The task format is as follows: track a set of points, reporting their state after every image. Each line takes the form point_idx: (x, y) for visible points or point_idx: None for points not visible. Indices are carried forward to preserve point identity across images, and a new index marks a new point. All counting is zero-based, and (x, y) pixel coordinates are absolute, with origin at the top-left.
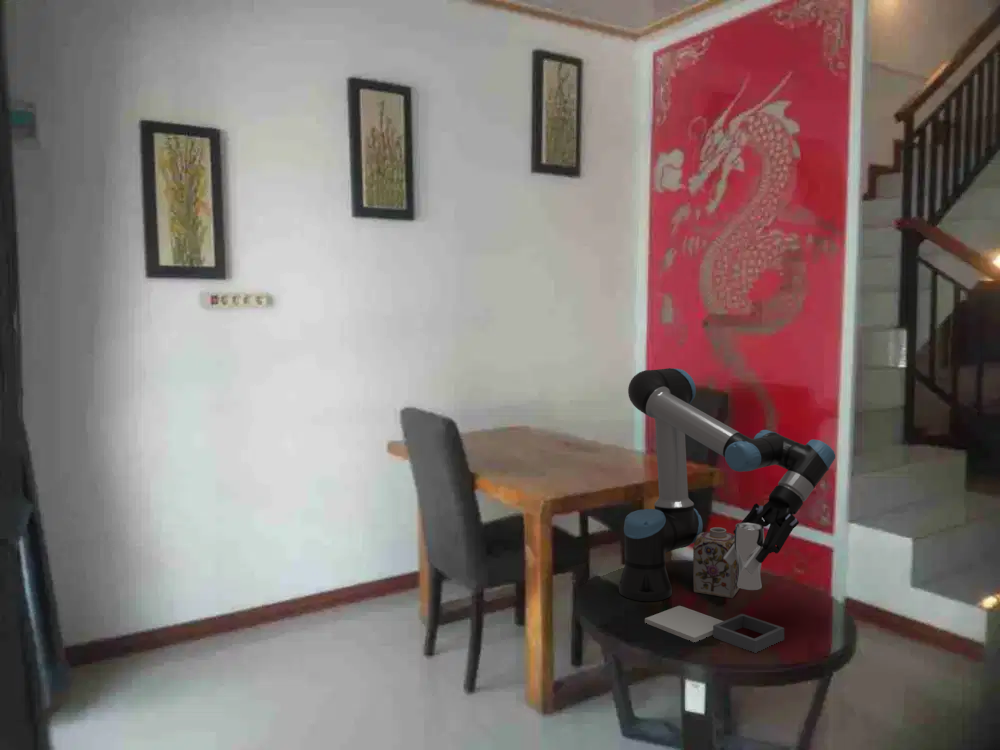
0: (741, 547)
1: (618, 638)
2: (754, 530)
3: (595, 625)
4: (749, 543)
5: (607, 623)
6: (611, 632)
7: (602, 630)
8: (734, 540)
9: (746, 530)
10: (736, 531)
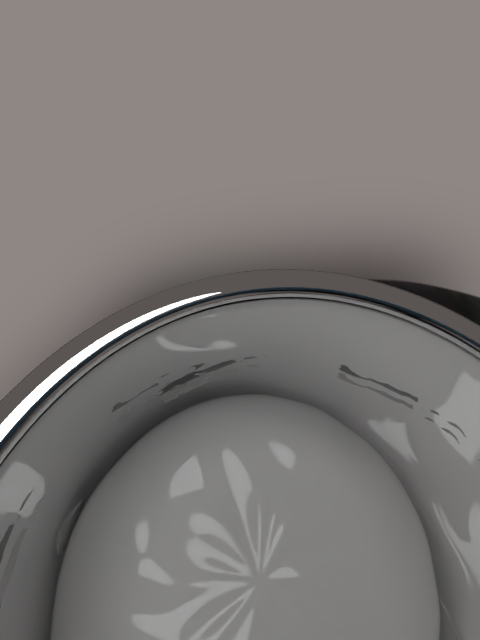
0: (238, 388)
1: (392, 282)
2: (28, 390)
3: (473, 296)
4: (149, 397)
5: (474, 321)
6: (425, 293)
7: (443, 288)
8: (392, 439)
9: (191, 292)
10: (401, 349)
